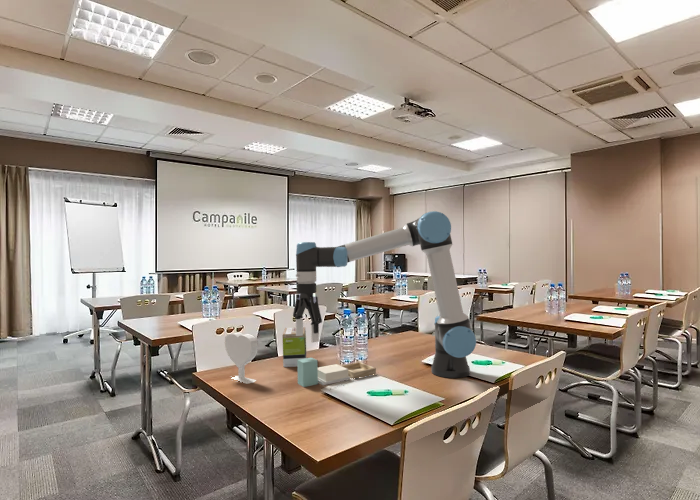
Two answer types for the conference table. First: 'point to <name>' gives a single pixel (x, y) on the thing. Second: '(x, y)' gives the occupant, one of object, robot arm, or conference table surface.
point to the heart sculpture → (241, 352)
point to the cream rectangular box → (332, 374)
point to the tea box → (293, 347)
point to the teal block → (307, 372)
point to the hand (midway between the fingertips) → (306, 338)
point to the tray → (359, 370)
